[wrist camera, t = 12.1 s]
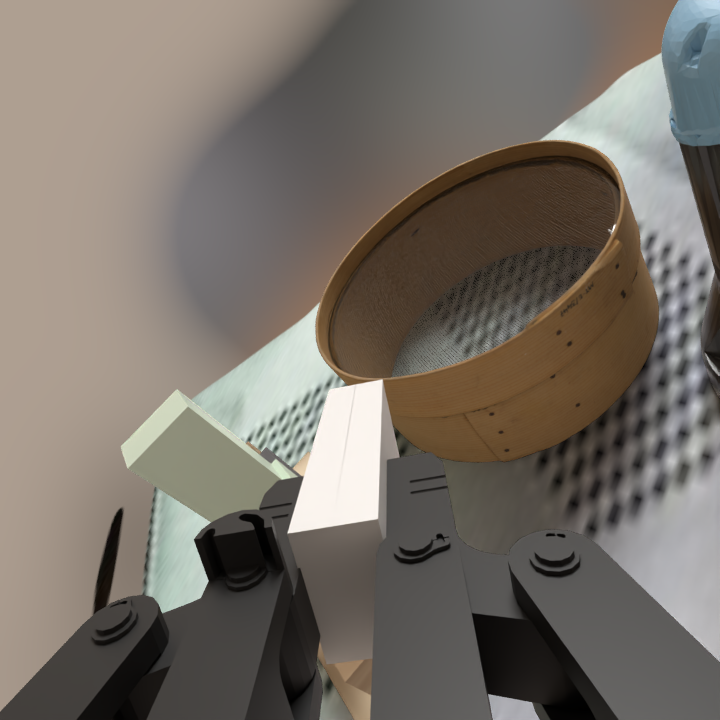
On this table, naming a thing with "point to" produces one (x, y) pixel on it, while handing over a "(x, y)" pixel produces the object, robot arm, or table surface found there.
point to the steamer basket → (542, 334)
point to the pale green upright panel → (200, 460)
